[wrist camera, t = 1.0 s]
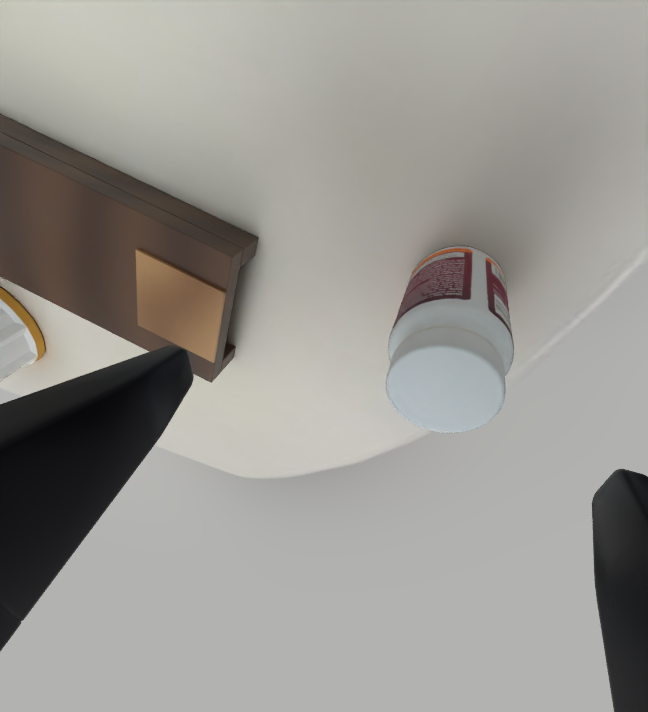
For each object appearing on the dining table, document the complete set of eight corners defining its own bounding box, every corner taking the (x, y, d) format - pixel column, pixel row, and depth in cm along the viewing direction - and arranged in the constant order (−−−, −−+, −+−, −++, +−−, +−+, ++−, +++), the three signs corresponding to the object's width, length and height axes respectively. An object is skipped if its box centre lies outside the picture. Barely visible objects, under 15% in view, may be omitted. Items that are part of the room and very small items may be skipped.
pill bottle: (396, 309, 21) (358, 410, 15) (430, 229, 18) (402, 314, 12) (476, 341, 21) (474, 459, 14) (526, 264, 18) (550, 372, 11)
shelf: (258, 237, 21) (205, 276, 17) (233, 358, 28) (190, 406, 24) (-162, 36, 23) (-302, 28, 19) (-93, 195, 29) (-186, 215, 25)
